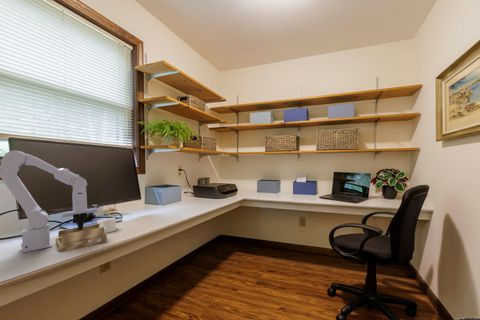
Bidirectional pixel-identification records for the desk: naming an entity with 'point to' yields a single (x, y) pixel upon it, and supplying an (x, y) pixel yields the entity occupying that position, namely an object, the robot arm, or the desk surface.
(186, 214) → the desk surface
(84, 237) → the flap near
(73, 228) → the flap far
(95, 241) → the carton
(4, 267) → the desk surface
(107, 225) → the bracket
